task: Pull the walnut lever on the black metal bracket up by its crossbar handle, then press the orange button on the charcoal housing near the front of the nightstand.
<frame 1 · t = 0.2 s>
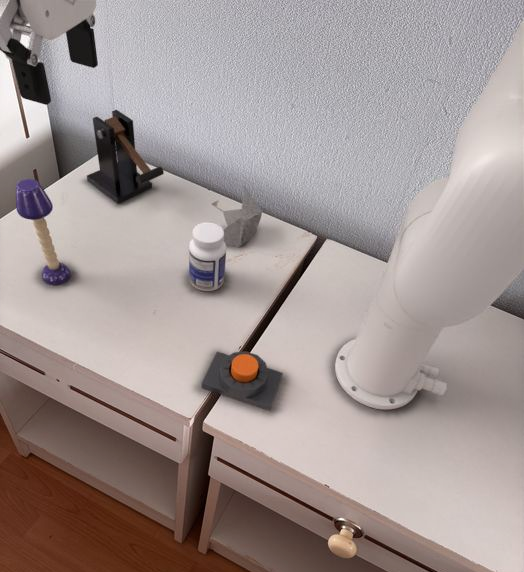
hand: (61, 81, 56), 31 cm above the table, tool pointing down, fingers open, 9 cm apart
button: (244, 368, 70), point 3 cm above the table, slide at 0.1 cm
pill bottle: (206, 280, 84), on the table
lever: (130, 150, 88), point 9 cm above the table, hinge at -25.0°
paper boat: (234, 231, 93), on the table
toy lamp: (54, 276, 81), on the table
bracket: (120, 184, 97), on the table
button box: (242, 382, 72), on the table
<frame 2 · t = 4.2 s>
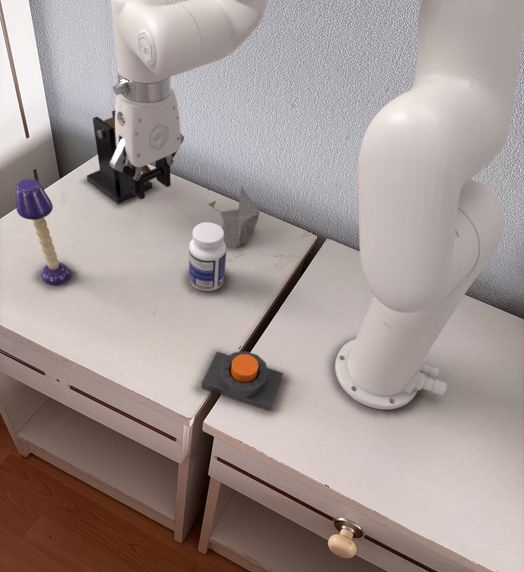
hand: (150, 188, 90), 4 cm above the table, tool pointing down, fingers closed on lever, 5 cm apart
lever: (130, 150, 88), point 9 cm above the table, hinge at -25.0°, touching gripper
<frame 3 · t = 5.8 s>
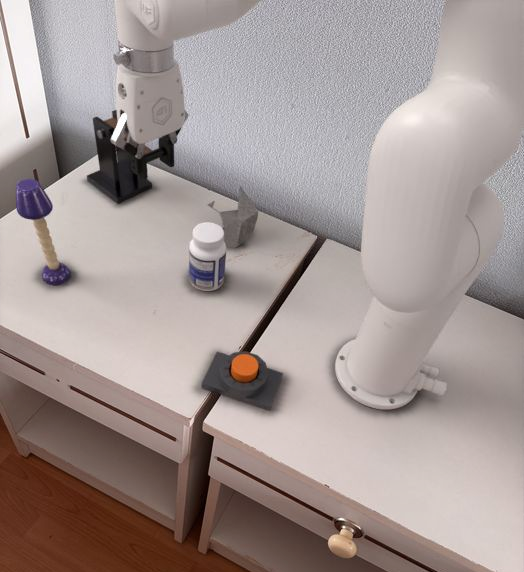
hand: (153, 168, 86), 9 cm above the table, tool pointing down, fingers closed on lever, 5 cm apart
lever: (131, 141, 86), point 11 cm above the table, hinge at 0.0°, touching gripper
everything else where it was.
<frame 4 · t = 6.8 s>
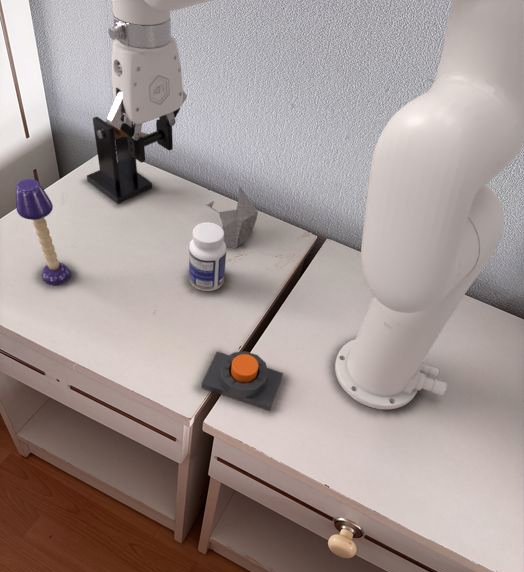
hand: (151, 151, 84), 12 cm above the table, tool pointing down, fingers closed on lever, 5 cm apart
lever: (130, 133, 86), point 12 cm above the table, hinge at 16.0°, touching gripper
everything else where it was.
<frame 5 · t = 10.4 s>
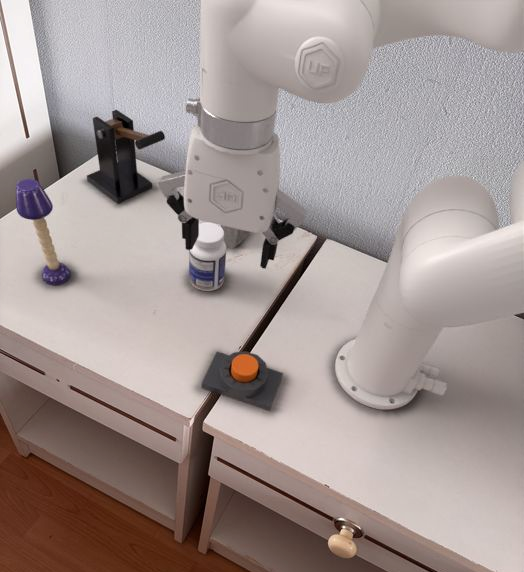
hand: (228, 252, 65), 16 cm above the table, tool pointing down, fingers open, 9 cm apart
lever: (130, 134, 86), point 12 cm above the table, hinge at 15.0°
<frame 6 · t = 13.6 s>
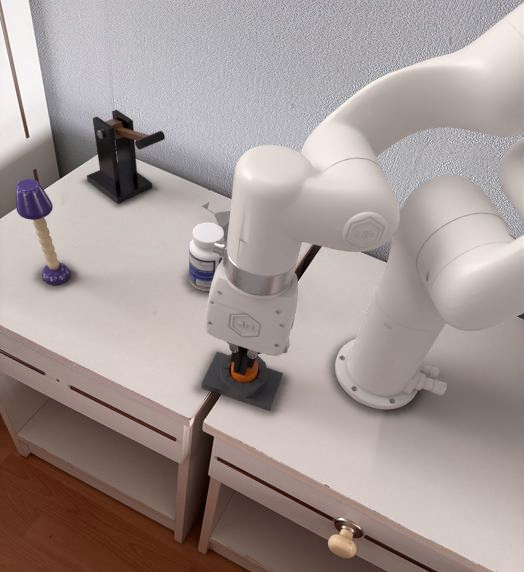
hand: (242, 365, 69), 4 cm above the table, tool pointing down, fingers closed
button: (244, 369, 70), point 3 cm above the table, slide at -0.2 cm, touching gripper
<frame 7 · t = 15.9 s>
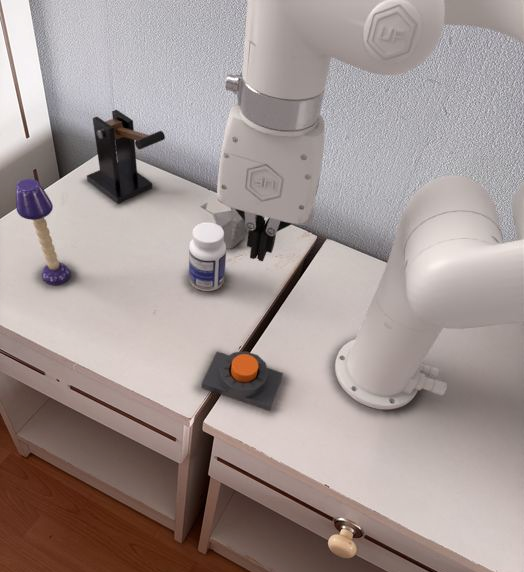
hand: (259, 252, 61), 19 cm above the table, tool pointing down, fingers closed
button: (244, 368, 70), point 3 cm above the table, slide at 0.1 cm
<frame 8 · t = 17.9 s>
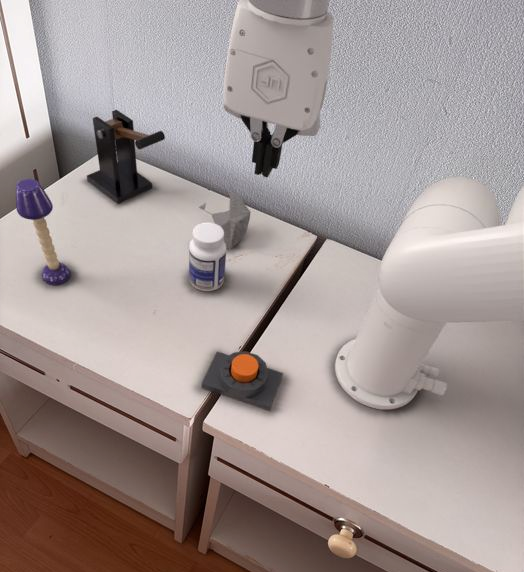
hand: (264, 169, 61), 25 cm above the table, tool pointing down, fingers closed
at the end: lever at +15° (first picture: -25°); button pushed in 1.0 cm at the most during the clip, back to where it started at the end; button slide at 0.1 cm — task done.
